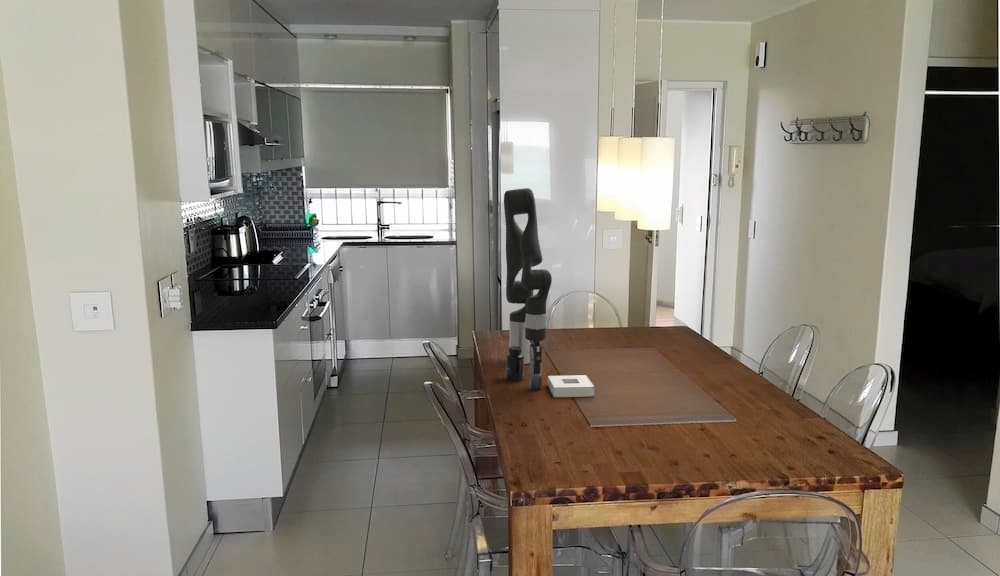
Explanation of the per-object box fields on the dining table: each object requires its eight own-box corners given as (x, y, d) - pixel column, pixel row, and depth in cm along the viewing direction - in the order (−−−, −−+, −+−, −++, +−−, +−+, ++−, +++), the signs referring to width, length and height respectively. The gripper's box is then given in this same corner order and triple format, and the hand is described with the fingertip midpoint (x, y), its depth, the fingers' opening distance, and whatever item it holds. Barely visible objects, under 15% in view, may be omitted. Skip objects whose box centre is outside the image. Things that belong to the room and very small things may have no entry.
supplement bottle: (502, 379, 270) (502, 348, 268) (510, 375, 276) (511, 344, 274) (519, 382, 267) (519, 350, 265) (527, 377, 273) (527, 346, 271)
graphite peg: (528, 387, 262) (529, 354, 260) (540, 386, 262) (541, 354, 260) (530, 390, 257) (530, 358, 255) (542, 390, 258) (543, 357, 256)
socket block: (547, 385, 264) (547, 375, 263) (585, 384, 265) (586, 375, 265) (554, 397, 250) (554, 387, 250) (594, 396, 251) (594, 386, 251)
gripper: (522, 322, 262) (522, 365, 265) (527, 330, 248) (527, 376, 251) (543, 321, 263) (542, 365, 266) (549, 330, 249) (548, 376, 251)
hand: (535, 370), depth 258 cm, fingers open, 8 cm apart
